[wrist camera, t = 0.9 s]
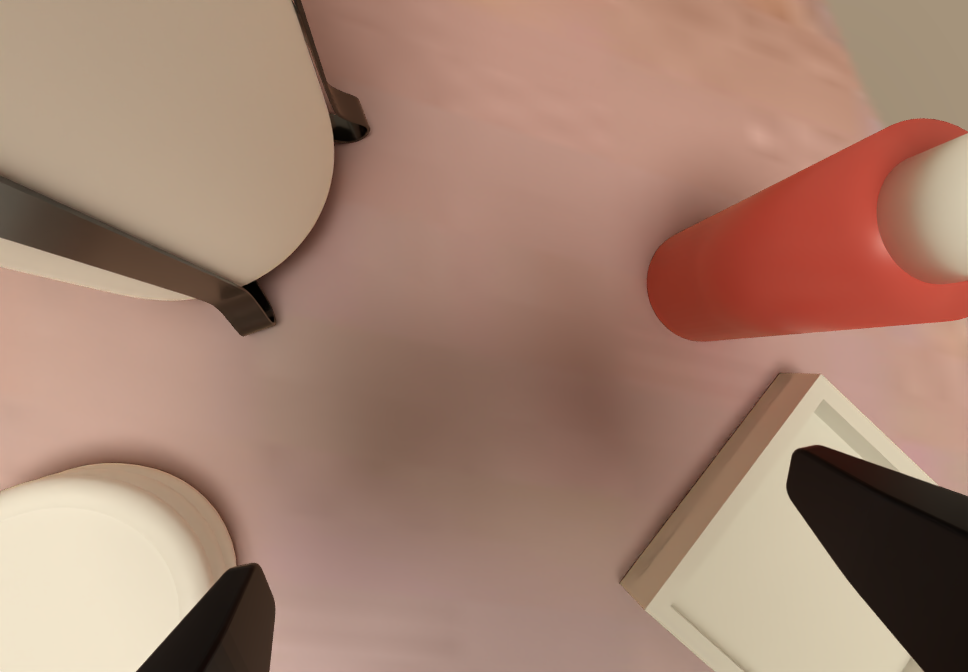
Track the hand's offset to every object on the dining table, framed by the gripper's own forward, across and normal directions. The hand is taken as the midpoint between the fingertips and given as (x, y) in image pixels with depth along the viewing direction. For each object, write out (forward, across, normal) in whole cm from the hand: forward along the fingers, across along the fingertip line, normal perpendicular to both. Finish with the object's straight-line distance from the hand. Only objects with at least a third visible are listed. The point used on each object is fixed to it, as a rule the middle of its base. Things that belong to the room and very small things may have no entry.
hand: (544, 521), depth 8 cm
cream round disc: (+11, +16, +10) cm, 21 cm away
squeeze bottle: (+15, -12, +2) cm, 20 cm away
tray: (+9, -15, +16) cm, 23 cm away
